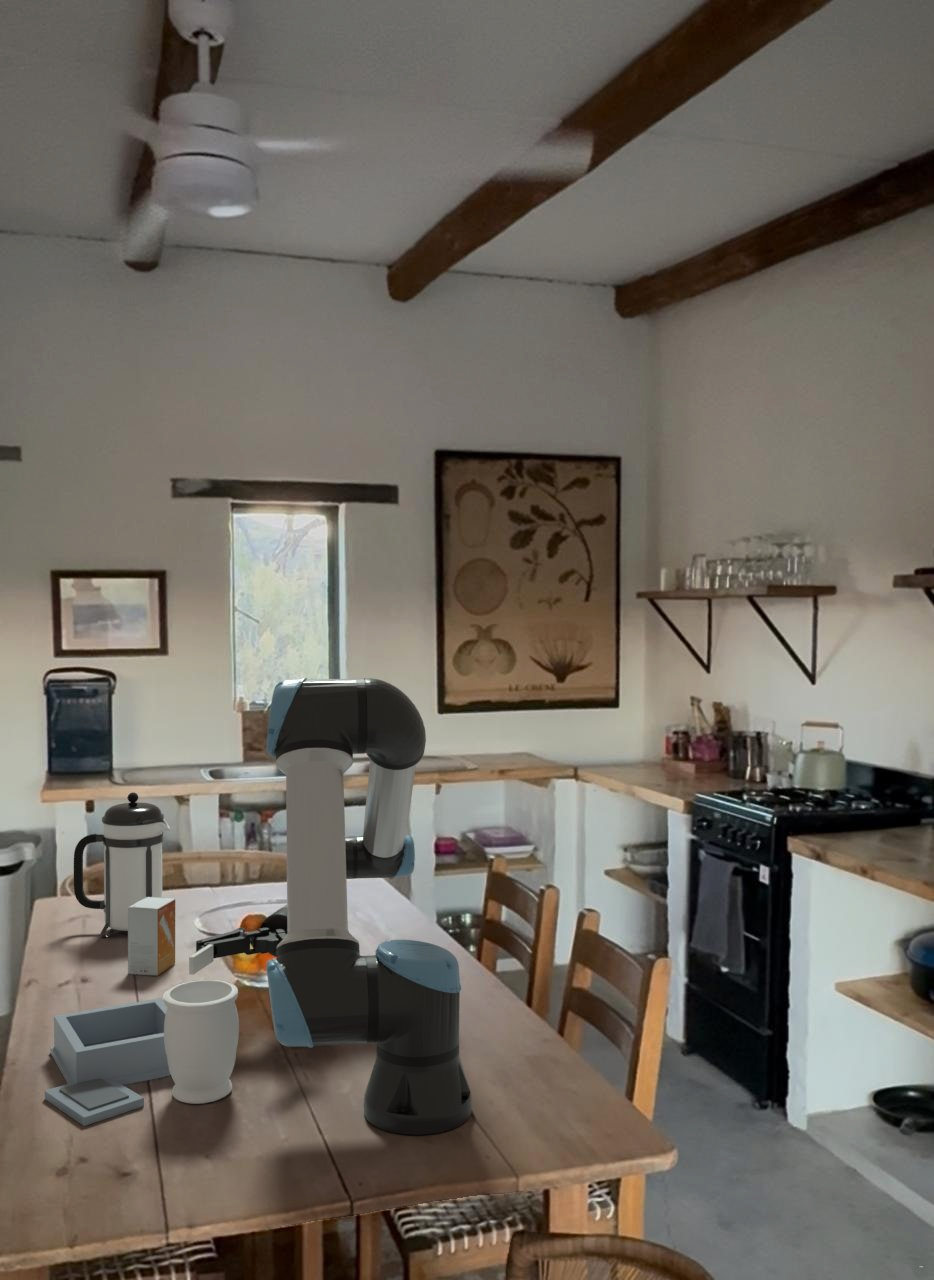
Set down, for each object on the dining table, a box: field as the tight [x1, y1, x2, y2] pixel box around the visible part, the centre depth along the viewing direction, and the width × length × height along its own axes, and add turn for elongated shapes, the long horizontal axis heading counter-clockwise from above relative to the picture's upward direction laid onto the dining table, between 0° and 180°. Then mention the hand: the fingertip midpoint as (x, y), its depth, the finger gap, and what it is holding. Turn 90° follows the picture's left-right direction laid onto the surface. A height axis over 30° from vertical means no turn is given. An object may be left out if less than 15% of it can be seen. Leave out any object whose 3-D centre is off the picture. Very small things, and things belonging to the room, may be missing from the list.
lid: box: [44, 1078, 145, 1127], centre depth 167 cm, size 12×9×2 cm
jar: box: [162, 979, 240, 1105], centre depth 170 cm, size 11×10×15 cm
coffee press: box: [73, 792, 171, 938], centre depth 252 cm, size 17×16×30 cm
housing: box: [49, 997, 171, 1086], centre depth 182 cm, size 18×18×6 cm
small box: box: [127, 897, 176, 977], centre depth 227 cm, size 8×6×13 cm
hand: (231, 970), depth 179 cm, fingers open, 13 cm apart
